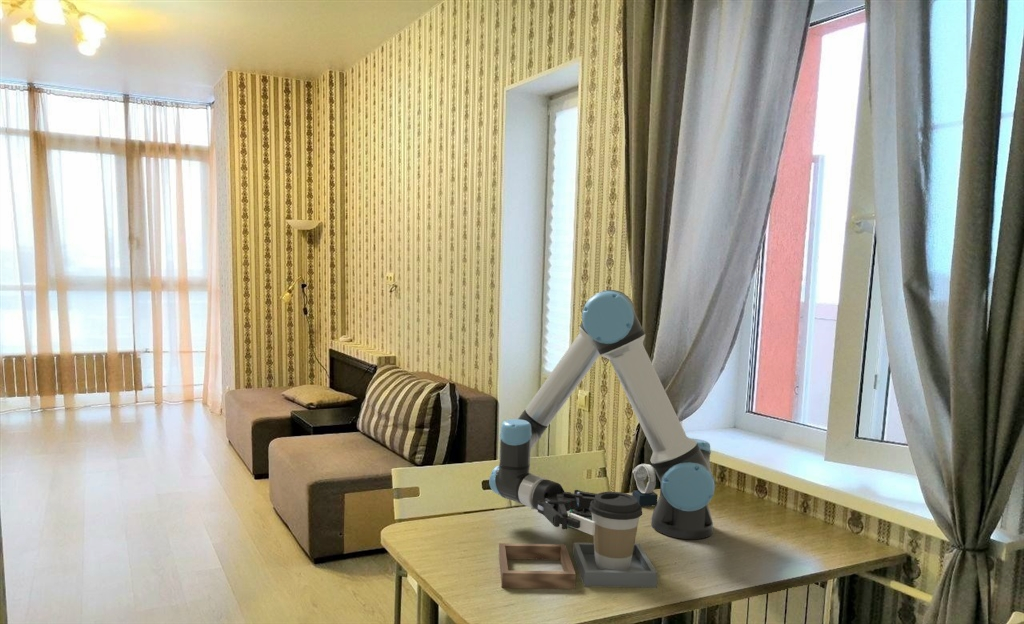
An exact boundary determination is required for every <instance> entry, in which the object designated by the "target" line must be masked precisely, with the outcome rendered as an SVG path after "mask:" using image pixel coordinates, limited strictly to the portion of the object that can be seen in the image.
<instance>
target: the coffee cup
mask: <svg viewBox="0 0 1024 624" xmlns="http://www.w3.org/2000/svg"><path fill="white" fill-rule="evenodd" d="M596 494H597V495H595V498H594V500H593V501H591V503H590V507H589V509H590V511H591V512H592V521H594V522H595V534H594V535H592V537H593V543H594V552H595V562H596V566H597V568H598V569H600V570H621V571H628V570H629V567H630V565H631V559H632V554H633V549H634V543H635V541H636V537H637V531H638V527H639V520H640V517H641V516H642V515H643V507H641V506H640V505H639V504H638V500H637V498H635V497H634V496H632V494H629V493H624V492H620V491H619V492H618V491H602V492H599V493H596ZM635 544H636V543H635Z"/></svg>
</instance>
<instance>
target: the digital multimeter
mask: <svg viewBox="0 0 1024 624" xmlns="http://www.w3.org/2000/svg"><path fill="white" fill-rule="evenodd" d="M577 506H579V503H577ZM570 513H573V514H576V515H579V516H581V517H584V518H586V519H589V520H592V512H591V511H590V509H585V508H583V509H582V510H570V511H569V514H570ZM567 528H571V529H574V528H573V527H570V526H569V525H567Z"/></svg>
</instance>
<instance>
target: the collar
mask: <svg viewBox="0 0 1024 624" xmlns="http://www.w3.org/2000/svg"><path fill="white" fill-rule="evenodd" d="M498 560H499V561H498V562H499V563H498V564H499V571H500V580H501V582H500V583H501V588H505V589H506V588H507V589H508V588H509V589H514V588H515V589H517V588H518V589H524V588H525V589H576V575H577V574H576V571H575V568H574V565H573V563H572V559H571V557H570V554H569V551H568V548H567V546H566V544H564V543H561V544H558V543H510V542H509V543H506V542H505V543H504V542H503V543H501V542H500V543H499V544H498ZM508 560H552V561H553V560H557V561H560V564H561V567H562V570H509V568H508Z"/></svg>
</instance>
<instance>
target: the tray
mask: <svg viewBox="0 0 1024 624" xmlns="http://www.w3.org/2000/svg"><path fill="white" fill-rule="evenodd" d="M572 554H573V555H572V556H573V559H574V561H575V564H576V567H577V569H578V570H577V571H578V573H579V575H580V578H581V581H582V584H583V587H586V588H587V587H588V588H589V587H590V588H591V587H595V588H597V587H598V588H599V587H601V588H603V587H605V588H606V587H607V588H611V587H612V588H657V587H658V571H657V570H656V569H655V567H654V565H653V563H652V561H651V560H650V559H649V557H648V555H647V554H646V552H645V550H644V549H643V547H642V545H641V544H640V543H634V549H633V554H632V559H631V565H630V567H629V570H628V571H621V570H600V569H598V568H597V566H596V562H595V552H594V542H573V553H572Z"/></svg>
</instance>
